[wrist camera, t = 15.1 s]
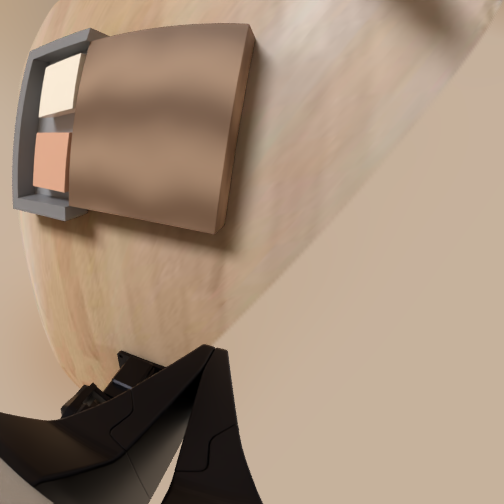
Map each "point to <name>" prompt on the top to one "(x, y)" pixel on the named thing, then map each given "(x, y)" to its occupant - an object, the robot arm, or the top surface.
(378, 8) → the top surface
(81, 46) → the box
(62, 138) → the terracotta tile
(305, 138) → the top surface
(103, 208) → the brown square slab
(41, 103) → the cream tile
